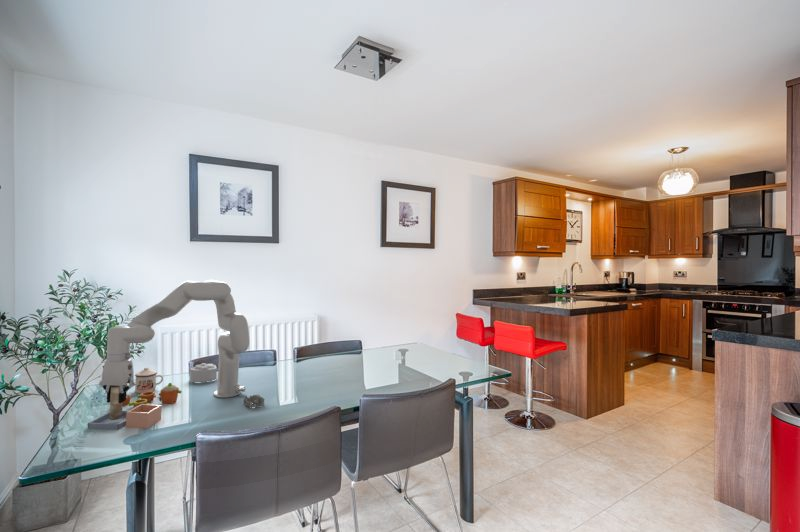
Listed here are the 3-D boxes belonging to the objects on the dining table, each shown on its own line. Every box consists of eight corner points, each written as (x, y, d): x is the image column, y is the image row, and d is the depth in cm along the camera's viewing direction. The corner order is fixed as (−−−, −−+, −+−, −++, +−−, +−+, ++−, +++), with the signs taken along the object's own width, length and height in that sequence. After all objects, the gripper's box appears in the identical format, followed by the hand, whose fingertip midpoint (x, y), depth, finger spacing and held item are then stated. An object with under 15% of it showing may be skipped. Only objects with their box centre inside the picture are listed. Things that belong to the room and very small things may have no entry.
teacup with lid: (134, 394, 184) (135, 371, 184) (134, 389, 191) (135, 366, 191) (162, 391, 190) (163, 368, 190) (162, 385, 198) (163, 363, 198)
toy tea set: (175, 393, 189) (176, 374, 189) (185, 402, 178) (186, 382, 178) (111, 406, 170) (111, 385, 170) (117, 417, 159) (118, 394, 159)
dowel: (124, 416, 154) (125, 384, 154) (116, 420, 150) (118, 388, 150) (114, 415, 154) (115, 384, 154) (106, 419, 150) (108, 387, 150)
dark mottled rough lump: (241, 403, 181) (241, 394, 181) (256, 399, 186) (257, 391, 186) (250, 410, 173) (250, 401, 173) (265, 406, 178) (266, 397, 178)
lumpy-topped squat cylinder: (217, 381, 209) (217, 366, 209) (190, 384, 202) (191, 368, 202) (214, 376, 218) (215, 361, 218) (189, 379, 211) (189, 363, 210)
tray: (141, 418, 159) (141, 411, 158) (118, 432, 146) (118, 424, 145) (112, 417, 158) (112, 410, 158) (87, 430, 145) (87, 423, 145)
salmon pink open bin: (161, 421, 156) (161, 404, 156) (147, 430, 148) (148, 413, 148) (140, 420, 156) (141, 404, 156) (125, 429, 148) (126, 412, 148)
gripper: (145, 355, 156) (143, 399, 156) (104, 353, 155) (102, 397, 155) (132, 360, 148) (130, 406, 148) (90, 358, 148) (88, 404, 148)
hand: (116, 401), depth 152 cm, fingers closed on dowel, 4 cm apart
